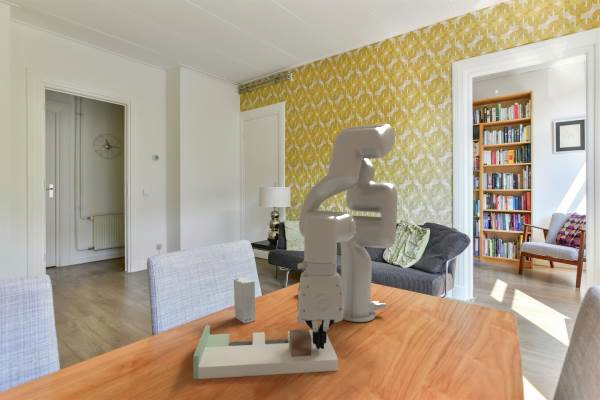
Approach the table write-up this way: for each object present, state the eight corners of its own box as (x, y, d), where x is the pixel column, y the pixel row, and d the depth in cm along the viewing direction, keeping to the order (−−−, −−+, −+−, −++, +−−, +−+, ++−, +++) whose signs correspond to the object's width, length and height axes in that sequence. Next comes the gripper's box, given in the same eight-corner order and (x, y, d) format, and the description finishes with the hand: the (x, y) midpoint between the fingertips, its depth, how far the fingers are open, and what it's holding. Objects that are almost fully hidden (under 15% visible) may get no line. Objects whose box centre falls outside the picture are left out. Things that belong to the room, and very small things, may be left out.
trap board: (324, 338, 85) (324, 320, 85) (338, 370, 70) (338, 348, 70) (205, 344, 82) (205, 325, 81) (193, 379, 67) (193, 356, 67)
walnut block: (308, 345, 76) (308, 329, 76) (311, 355, 72) (311, 338, 72) (289, 346, 76) (289, 330, 76) (291, 356, 71) (291, 339, 71)
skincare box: (256, 320, 97) (256, 281, 96) (243, 324, 94) (243, 283, 93) (246, 314, 101) (246, 276, 101) (233, 317, 99) (233, 279, 98)
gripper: (289, 273, 69) (288, 356, 69) (356, 271, 71) (355, 352, 71) (286, 264, 76) (285, 340, 77) (347, 263, 78) (346, 337, 79)
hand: (319, 346), depth 74 cm, fingers closed
